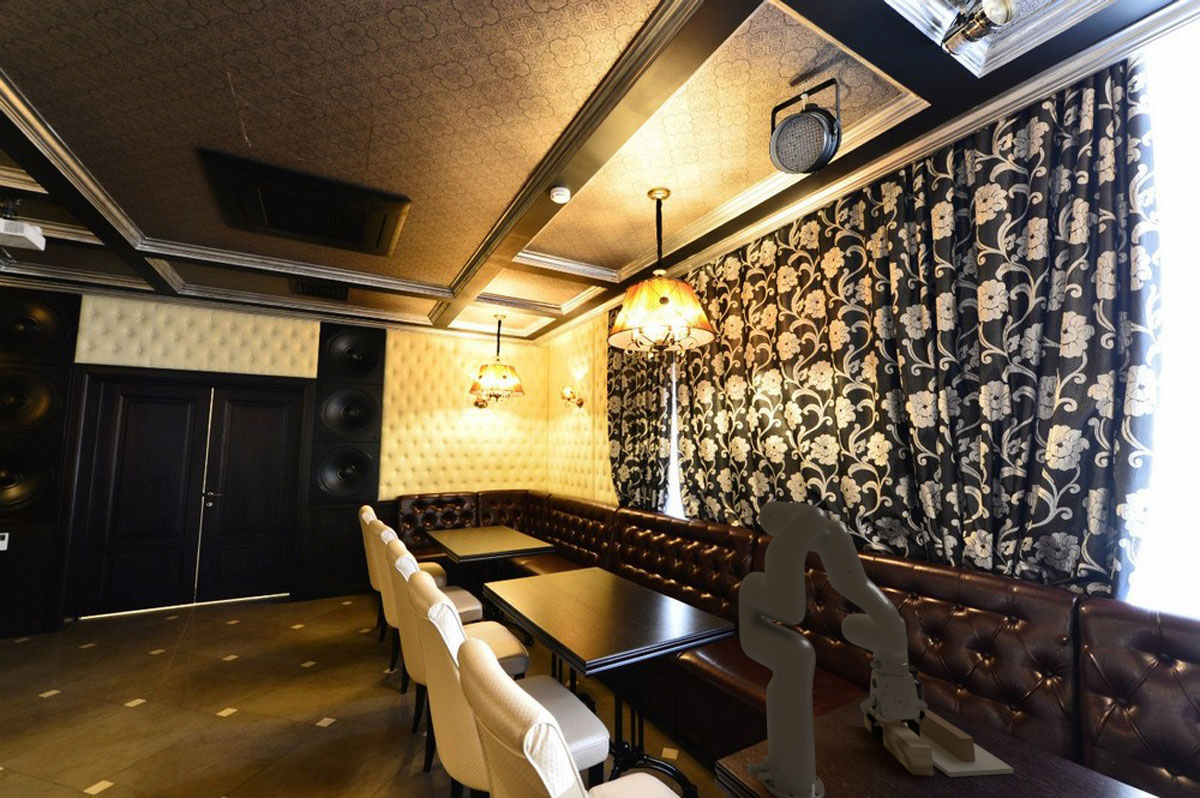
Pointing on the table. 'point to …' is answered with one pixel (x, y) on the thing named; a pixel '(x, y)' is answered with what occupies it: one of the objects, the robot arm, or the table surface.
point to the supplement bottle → (917, 682)
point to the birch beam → (906, 746)
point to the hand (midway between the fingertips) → (896, 740)
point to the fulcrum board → (966, 768)
